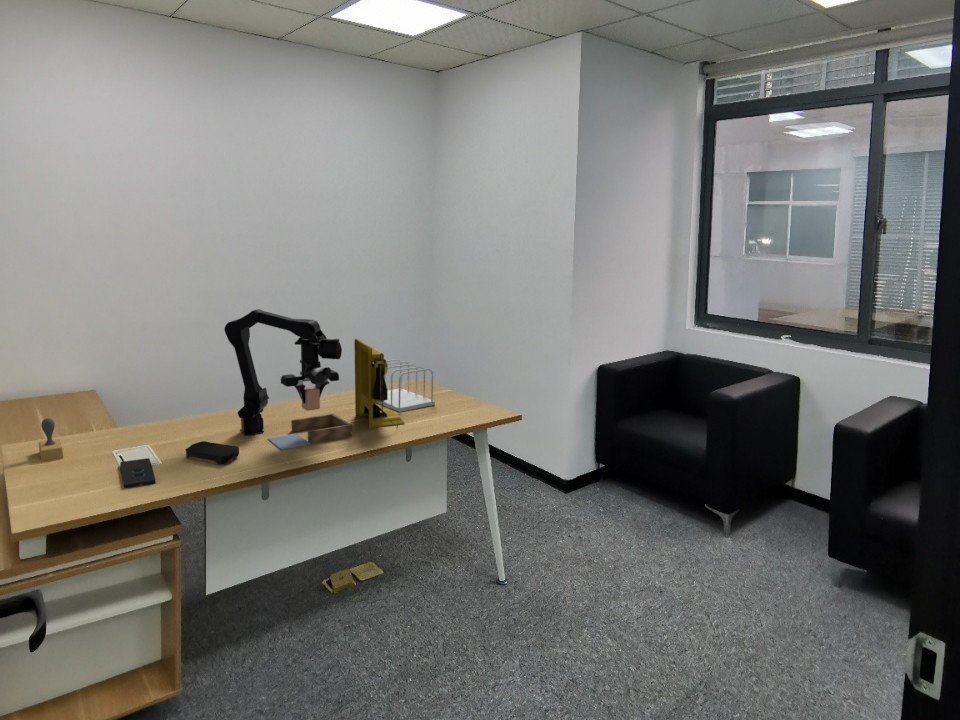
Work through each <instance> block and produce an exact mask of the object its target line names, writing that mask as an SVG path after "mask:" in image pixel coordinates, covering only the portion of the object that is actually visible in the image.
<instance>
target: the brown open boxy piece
mask: <svg viewBox="0 0 960 720" xmlns="http://www.w3.org/2000/svg"><path fill="white" fill-rule="evenodd" d="M290 422H291V424H290V425H291V432H292V433H293V432H298V431H299V432H301V431H305V430H308V431H307V441H308V442H309V443H310V444H315V442H316V443H320V442H321V441H322V442H326V441H331V440H337V439H344V438H349V436H350V437H353V425H352V423H349V422H348V421H346V420H344V419H343V418H341V417H340V416H338V415H336V414H334V413H328V414H324V415H323V414H322V415H321V414H320V415H316V416H315V415H314V416H309V417H303V418H296V419H291V421H290ZM329 426H331V427H329ZM324 427H326V428H324ZM317 428H321V429H317ZM313 429H315V430H313ZM322 442H321V443H322Z"/></svg>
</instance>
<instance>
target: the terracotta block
mask: <svg viewBox="0 0 960 720" xmlns="http://www.w3.org/2000/svg"><path fill="white" fill-rule="evenodd" d="M304 390H305V404H303V402H302V401H301V408H302V409H303V410H305V411H306V412H308V411H315V410H320V408H321V400H320V399H321V396H320V389H318V388H317V387H315V385H312V386H305V389H304Z"/></svg>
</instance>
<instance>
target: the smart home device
mask: <svg viewBox="0 0 960 720" xmlns="http://www.w3.org/2000/svg"><path fill="white" fill-rule="evenodd" d="M150 459H151V458H148V457H147V458H140V459H139V458H138V459H133V460H126V461H125V460H124V461H120V462H119V465H120V466H119V470H120V474H121V478H122V486H123V489H132V488H138V487H143V486H145V487H146V486H151V485H155V484H156V483H157V481H156V476H155V473H154V469H153V464H152V463H151V460H150Z"/></svg>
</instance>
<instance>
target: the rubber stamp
mask: <svg viewBox="0 0 960 720" xmlns="http://www.w3.org/2000/svg"><path fill="white" fill-rule="evenodd" d="M55 425H56V424H55V421H54V420H53V419H52V418H51V417H47V418H44V419H43V420H42V421H41V425H40V426H41V429H42V431H43V432H44V434H45V437H46V440H39V442H38V451H39V456H40V460H41V462H42V461H43V462H49V460H50V461H56V460H61V459H64V450H63V449H64V448H63V445H62V441H61V439H60V438H55V439H53V433H54V430H55V427H56V426H55Z"/></svg>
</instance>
